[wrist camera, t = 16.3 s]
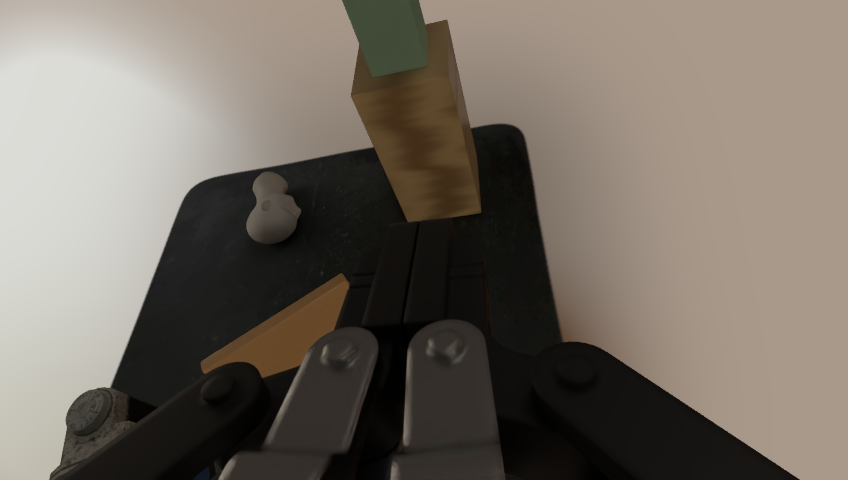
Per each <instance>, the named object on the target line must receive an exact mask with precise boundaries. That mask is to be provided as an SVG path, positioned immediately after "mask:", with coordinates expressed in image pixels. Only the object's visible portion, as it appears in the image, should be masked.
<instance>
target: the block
mask: <svg viewBox="0 0 848 480" xmlns="http://www.w3.org/2000/svg"><path fill="white" fill-rule="evenodd" d="M342 1H343V3H344V6H345V9H346V11H347V14H348V16H349V19H350V21H351V23H352V26H353V29H354V32H355V34H356V36H357V39H358V41H359V44H360V47H361V49H362V52H363V55H364V57H365V60H366V62H367V65H368V67H369V70H370V72H371V75H372V77H373V78H375V77H380V76H385V75H389V74H394V73H398V72H403V71H408V70H412V69H417V68H422V67H426V66H427V30H426V27H425V23H424V19H423V15H422V11H421V7H420V3H419V0H342Z"/></svg>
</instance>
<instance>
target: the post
mask: <svg viewBox="0 0 848 480" xmlns="http://www.w3.org/2000/svg"><path fill="white" fill-rule="evenodd" d="M425 27H426V30H427V66H426V67H422V68H417V69H412V70H408V71H403V72H398V73H394V74H389V75H385V76H380V77H375V78H373V77H372V75H371V72H370V70H369V67H368V65H367V62H366V60H365V57H364V55H363V52H362V49H361V47H360V44H359V50H358V56H357V62H356V68H355V74H354V80H353V87H352V93H351V97H352V99H353V102H354V104H355V106H356V108H357V110H358V113H359V115H360V117H361V119H362V122H363V124H364V126H365V128H366V130H367V133H368V135H369V137H370V139H371V141H372V144H373V146H374V148H375V150H376V153H377V155H378V157H379V159H380V161H381V164H382V166H383V168H384V170H385V172H386V175H387V177H388V179H389V181H390V184H391V186H392V188H393V190H394V192H395V195H396V197H397V199H398V201H399V203H400V206H401V208H402V210H403V212H404V214H405V217H406V219H407V221H408V222H413V221H421V220H430V219H439V218H448V217H457V216H464V215H471V214H478V213H481V200H480V188H479V175H478V162H477V156H476V151H475V147H474V142H473V137H472V133H471V128H470V124H469V119H468V114H467V110H466V105H465V100H464V96H463V91H462V86H461V82H460V77H459V72H458V68H457V63H456V59H455V54H454V49H453V44H452V40H451V35H450V31H449V26H448V21H447V20H443V21H439V22H435V23H430V24H426V25H425Z"/></svg>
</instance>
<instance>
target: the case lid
mask: <svg viewBox="0 0 848 480" xmlns="http://www.w3.org/2000/svg"><path fill="white" fill-rule="evenodd" d="M348 289H349V282H348V281H347V280H346V278H345V277H344V275H343V274H339V275H338V276H336V277H335V278H333V279H331V280H330V281H328V282H327V283H325V284H323V285H322V286H320V287H319V288H317V289H316V290H314V291H312V292H311V293H309V294H308V295H306V296H304V297H303V298H301V299H300V300H298V301H297V302H295V303H293V304H292V305H290V306H289V307H287V308H285V309H284V310H282V311H281V312H279V313H277V314H276V315H274V316H273V317H271V318H270V319H268V320H266V321H265V322H263V323H262V324H260V325H258V326H257V327H255V328H254V329H252V330H250V331H249V332H247V333H246V334H244V335H243V336H241V337H239V338H238V339H236V340H235V341H233V342H231V343H230V344H228V345H227V346H225V347H224V348H222V349H220V350H219V351H217V352H216V353H214V354H212V355H211V356H209V357H208V358H206V359H204V360H203V361H201V367H202V371H203V372H204V373H205V374H206V373H208V372H210V371H211V370H213V369H215V368H217V367H219V366H222V365H224V364H228V363H232V362H247V363H250V364H252V365H254V366H255V367H256V368H257V369H258V370H259V372H260V374H261V376H262V378H264V377H267V376H270V375H273V374H276V373H279V372H282V371H285V370H288V369H291V368H294V367H297V366H299V365H301V364H302V362H303V360H304V357H305V355H306V353H307V352H308V350H309V348H310V347H311V346H312V345H313V344H314V343H315V342H316V341H317V340H318V339H319V338H321V337H322V336H324V335H325V334H327V333H329V332H331V331H334V328H335V325H336V322H337V319H338V316H339V313H340V311H341V308H342V305H343V302H344V299H345V296H346V293H347V290H348Z"/></svg>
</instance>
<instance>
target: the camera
mask: <svg viewBox="0 0 848 480" xmlns="http://www.w3.org/2000/svg"><path fill="white" fill-rule="evenodd" d="M157 408H158V407H157V406H154V405H152V404H149V403H147V402H144V401H142V400H140V399H137V398H135V397H132V396H130V395H127V394H125V393H122V392H120V391H117V390H115V389H112V388H105V387H104V388H97V389H95V390H89V391H87V392H85V393H83V394H82V395H80V396H79V397H78V398H77V399H76V400H75V401H74V402H73V404H72V405H71V407H70V408H69V410H68V413H67V416H66V425H67V431H66V437H65V442H64V447H63V453H62V458H61V463H60V465H59V466H58V467H57V468H56V469H55V470H54V471H53V472H52V473H51V475H50V479H49V480H57V479H58V478H60V477H61V476H62V475H64V474H65V473H67V472H68V471H69V470H71V469H72V468H74V467H75V466H77V465H78V464H79V463H81V462H82V461H84V460H85V459H86V458H88V457H89V456H91V455H92V454H93V453H95V452H96V451H98V450H99V449H101V448H102V447H103V446H105V445H106V444H108V443H109V442H110V441H112V440H113V439H115V438H116V437H117V436H119V435H120V434H122V433H123V432H124V431H126V430H127V429H129V428H130V427H132V426H133V425H134V424H136V423H137V422H139V421H140V420H141V419H143V418H144V417H146V416H147V415H148V414H150V413H151V412H153V411H154V410H156V409H157ZM220 471H221V470H220V469H219V467H218V466H217V465H216V463H215V462H213V463H212V464H210V465H209V466H208V467H207V468H206V469H204V470H203V471H202V472H201V473H200V474H198V475H197V476H196V477H195V478H194V479H192V480H211V479H212V478H213V477H214V476H215V475H216V474H218V473H219V472H220Z"/></svg>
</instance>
